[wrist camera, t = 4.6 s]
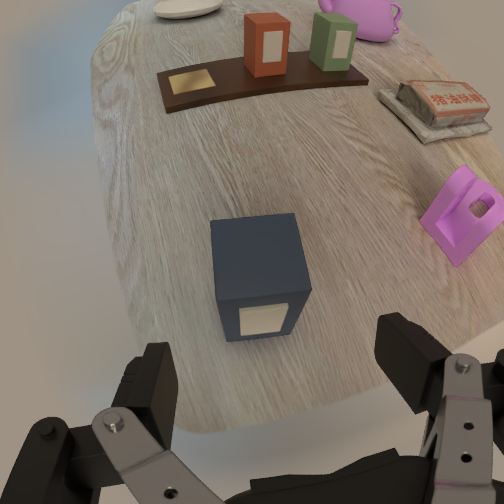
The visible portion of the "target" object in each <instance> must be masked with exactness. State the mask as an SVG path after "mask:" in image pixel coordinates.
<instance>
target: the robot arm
mask: <svg viewBox="0 0 504 504" xmlns="http://www.w3.org/2000/svg"><path fill="white" fill-rule="evenodd" d="M374 353H375V359H376V361H377V363H378V365H379V366H380V367H381V369H382V370H383V371H384V373H385V374H386V375H387V377H388V378H389V379H390V381H391V382H392V383H393V385H394V386H395V387H396V389H397V390H398V391H399V393H400V394H401V396H402V397H403V398H404V400H405V401H406V402H407V404H408V405H409V406H410V407H411V409H412V411H413V412H414V413H415V414H418V413H421V412H424V411H426V410H427V411H428V412H429V414H428V417H427V420H426V426H425V431H424V436H423V441H422V445H421V450H420V454H419V456H399V454H398V452H397V451H396V449H395V448H392V449H389V450H386V451H383V452H380V453H376V454H373V455H370V456H367V457H364V458H361V459H359V460H357V461H355V462H354V463H352V464H350V465H348V466H346V467H344V468H342V469H340V470H337V471H335V472H334V473H331V474H326V475H282V476H275V477H268V478H260V479H251V480H250V486H251V489H250V490H247V491H244V492H242V493H239V494H237V495H235V496H233V497H231V498H229V499H227V500H226V501H224V502H223V501H222V500H221V499H220V498H219V497H218V496H217V495H216V494H215V493H213V492H212V491H211V490H210V489H209V488H208V487H207V486H206V485H205V484H204V483H203V482H202V481H201V480H200V479H199V478H198V477H197V476H196V475H195V474H193V472H191V470H190V469H189V468H188V467H187V466H186V465H184V463H183V462H182V461H181V460H180V459H179V458H178V457H177V456H176V455H175V454H174V453H173V452H172V451H171V450H170V448H171V440H172V432H173V425H174V417H175V410H176V403H177V396H178V379H177V374H176V370H175V366H174V362H173V358H172V354H171V349H170V346H169V343H168V342H160V343H148V344H147V346H146V349H145V352H144V355H143V356H141V357H135V358H134V359H133V360H132V361H131V362H130V363H129V364H128V365H127V367H126V369H125V372H124V376H123V377H122V379H121V383H120V384H119V387H118V389H117V392H116V395H115V397H114V400H113V402H112V405H111V408H107V409H105V410H103V411H101V412H99V413H98V414H97V415H96V416H95V417H94V419H93V421H92V424H91V425H87V426H82V427H75V428H68V426H67V424H66V423H65V421H63V420H62V419H60V418H58V417H47V418H44V419H41V420H39V421H38V422H36V423H35V424H34V425H33V426H32V428H31V429H30V431H29V433H28V435H27V437H26V440H25V442H24V444H23V446H22V448H21V450H20V453H19V455H18V457H17V459H16V462H15V464H14V466H13V468H12V471H11V473H10V476H9V478H8V481H7V483H6V485H5V488H4V490H3V493H2V496H1V498H0V504H98V503H99V497H100V491H101V487H107V486H113V485H119V484H126V486H127V487H128V489H129V490H130V491H131V493H132V494H133V496H134V497H135V498H136V500H137V501H138V503H139V504H504V482H501V481H497V480H494V479H492V464H493V441H494V443H495V444H496V445H497V447H498V448H499V450H500V451H501V452H502V454H503V455H504V349H501V350H500V351H499V352H498V353H497V356H496V359H495V362H492V363H484V364H480V363H479V361H478V360H477V359H476V358H474V357H472V356H470V355H467V354H452V353H451V352H450V351H449V350H447V349H446V348H445V347H444V346H443V345H442V344H441V343H440V342H439V341H437V340H436V339H434V337H433V336H432V335H431V334H428V332H427V331H426V330H425V329H424V328H423V327H422V326H420V325H418V324H415V323H413V322H411V321H408V320H407V319H406V318H404V317H403V316H402V315H401V314H400V313H399V312H395V313H390V314H385V315H381V316H379V318H378V323H377V332H376V340H375V349H374Z"/></svg>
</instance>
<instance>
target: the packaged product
mask: <svg viewBox="0 0 504 504" xmlns="http://www.w3.org/2000/svg"><path fill="white" fill-rule="evenodd" d="M378 99H379V100H380V101H382V102H383V103H384V104H385V105H386V106H387V107H389V108H390V109H391V110H392V111H393V112H394V113H395V114H396V115H397V116H398V117H399V118H401V119H402V120H403V121H404V122H405V123H406V124H407V125H408V126H409V127H410V128H411V129H412V130H413V131H414V132H415V134H416V135H417V136H418V137H419V139H420V140H421V141H422V142H423V143H424V144H425V143H428V142H432V141H436V140H439V139H443V138H453V137H470V136H471V135H473V134H475V133H480V132H488V131H491V130H492V127H491V126H490V125H489V124H488V123H487V122H486V121H485V120H484V119H483V118H484V117H485V116H486V114H487V113H488V111H489V109H490V106H489V105H488V103H487V101H486V99H485V98H483V97H482V96H481V95H480V94H478V92H476V91H475V90H474V89H473V88H472V87H471V86H469V85H468V84H467V83H462V82H450V81H412V80H411V81H408V80H407V81H403V82H402V83H400V85H399V89H380V90H379V94H378Z"/></svg>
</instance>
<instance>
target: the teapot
mask: <svg viewBox="0 0 504 504" xmlns="http://www.w3.org/2000/svg"><path fill="white" fill-rule="evenodd" d="M318 3H319V6H320V9H321V10H322V11H323V12H324V13H338V14H342V15H344V16H346V17H348V18H349V19H351V20H353V21H355V22H356V23H358V28H357V33H356V37H357V38H361V39H365V40H370V41H372V42H385V41H386V40H388V39H389V38H391V37H392V35H393V34H397V33H399V31H400V27H399V26H398V25H396V23H397V22H398V21H399V19H400V18H401V16H402V13H403V11H402V8H401V7H400V6H399V4H397V3H396V2H393V1H388V0H331V2H330V1H329V0H318ZM390 5H394V6H396V7H397V8H398V13H397V15H396V16H395V18H393V13H392V9H391V6H390ZM394 27H396V28H397V29H396V30H394Z"/></svg>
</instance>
